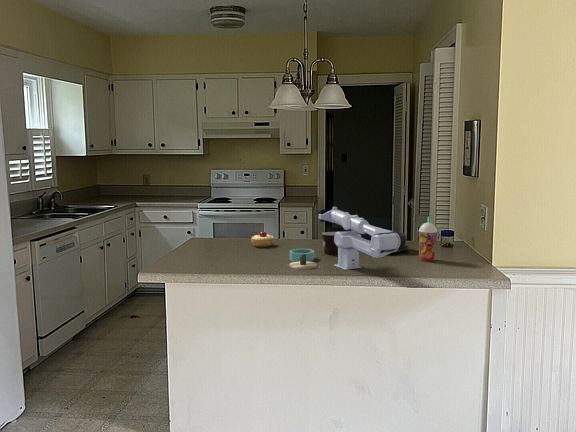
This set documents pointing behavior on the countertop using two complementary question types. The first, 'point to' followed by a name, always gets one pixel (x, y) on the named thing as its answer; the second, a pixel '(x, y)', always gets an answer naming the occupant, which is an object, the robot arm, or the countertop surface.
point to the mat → (302, 269)
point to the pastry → (262, 240)
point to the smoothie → (427, 241)
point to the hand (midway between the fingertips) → (324, 212)
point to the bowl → (296, 253)
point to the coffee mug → (329, 243)
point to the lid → (303, 263)
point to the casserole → (401, 242)
